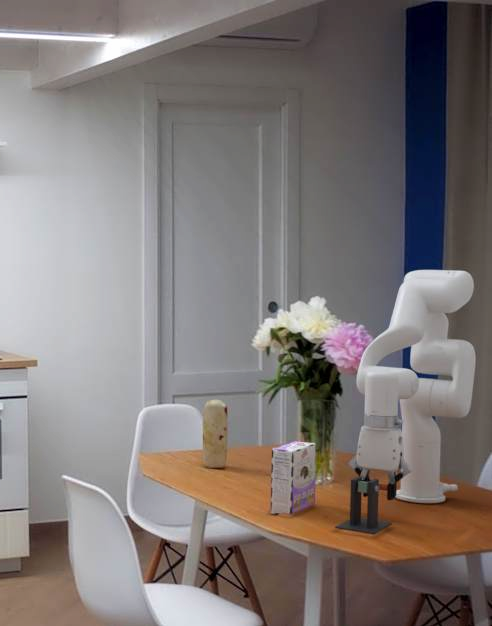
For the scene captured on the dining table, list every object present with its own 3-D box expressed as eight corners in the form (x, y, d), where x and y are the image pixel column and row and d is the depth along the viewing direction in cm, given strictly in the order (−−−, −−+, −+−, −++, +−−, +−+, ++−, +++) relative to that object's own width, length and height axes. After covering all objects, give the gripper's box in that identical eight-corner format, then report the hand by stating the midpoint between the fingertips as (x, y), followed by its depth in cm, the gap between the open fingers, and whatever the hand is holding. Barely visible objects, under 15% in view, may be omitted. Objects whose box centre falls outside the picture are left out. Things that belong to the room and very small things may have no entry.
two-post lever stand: (354, 521, 254) (355, 472, 254) (391, 527, 249) (393, 477, 248) (334, 531, 245) (336, 481, 244) (373, 538, 240) (374, 486, 239)
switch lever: (369, 490, 256) (370, 480, 256) (390, 493, 253) (391, 483, 253) (351, 490, 247) (352, 480, 247) (372, 493, 244) (373, 483, 244)
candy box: (293, 503, 272) (295, 440, 271) (315, 507, 268) (317, 442, 267) (269, 513, 261) (270, 447, 260) (291, 517, 258) (293, 450, 257)
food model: (232, 469, 316) (233, 402, 314) (213, 470, 313) (214, 403, 312) (215, 462, 325) (216, 397, 324) (196, 464, 322) (197, 398, 321)
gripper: (422, 424, 251) (420, 500, 252) (351, 417, 261) (349, 490, 262) (411, 427, 245) (409, 505, 246) (340, 420, 256) (338, 495, 256)
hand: (378, 496), depth 254 cm, fingers closed on switch lever, 5 cm apart
